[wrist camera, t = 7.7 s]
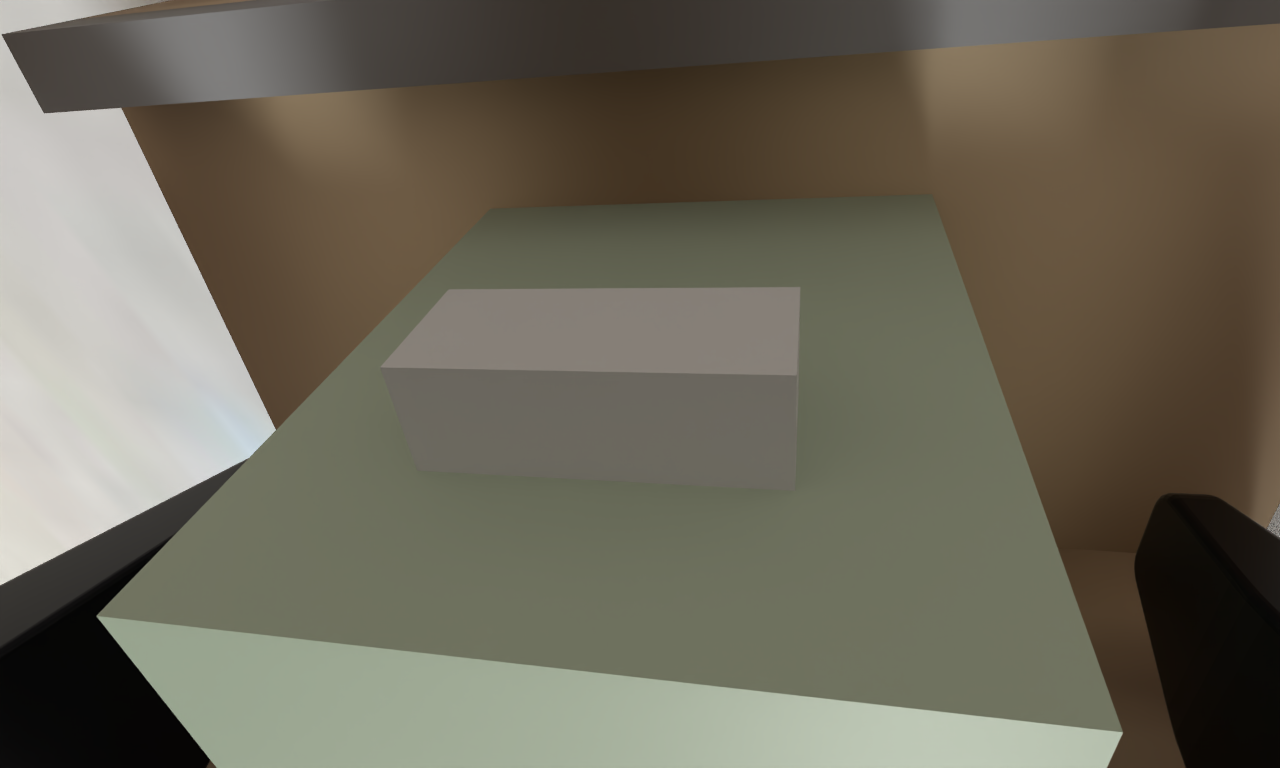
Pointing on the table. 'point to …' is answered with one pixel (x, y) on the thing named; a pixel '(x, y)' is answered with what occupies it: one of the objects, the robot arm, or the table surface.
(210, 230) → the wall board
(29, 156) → the table surface
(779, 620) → the cabinet block
